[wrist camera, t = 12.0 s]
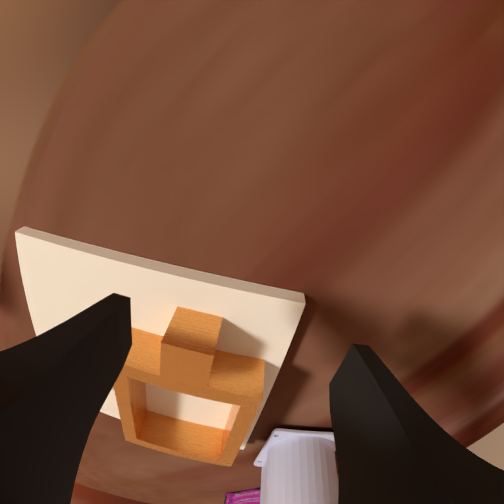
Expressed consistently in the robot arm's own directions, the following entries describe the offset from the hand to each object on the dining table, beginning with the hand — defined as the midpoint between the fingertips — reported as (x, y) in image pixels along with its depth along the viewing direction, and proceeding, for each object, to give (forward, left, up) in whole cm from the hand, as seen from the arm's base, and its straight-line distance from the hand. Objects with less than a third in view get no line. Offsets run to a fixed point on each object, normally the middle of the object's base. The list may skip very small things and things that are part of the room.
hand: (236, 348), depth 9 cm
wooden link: (-14, +2, -8) cm, 17 cm away
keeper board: (-13, +7, -9) cm, 18 cm away
